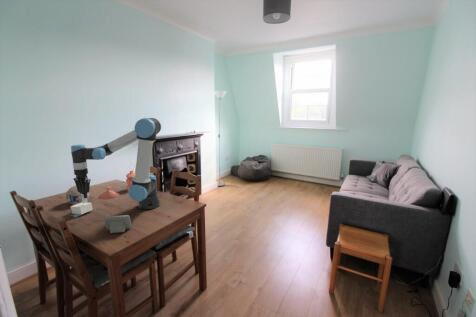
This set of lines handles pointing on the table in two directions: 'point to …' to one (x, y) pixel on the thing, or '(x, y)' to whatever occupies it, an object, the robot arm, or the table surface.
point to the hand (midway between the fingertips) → (84, 202)
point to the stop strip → (78, 215)
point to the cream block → (81, 208)
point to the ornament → (75, 196)
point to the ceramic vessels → (112, 194)
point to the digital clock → (118, 223)
